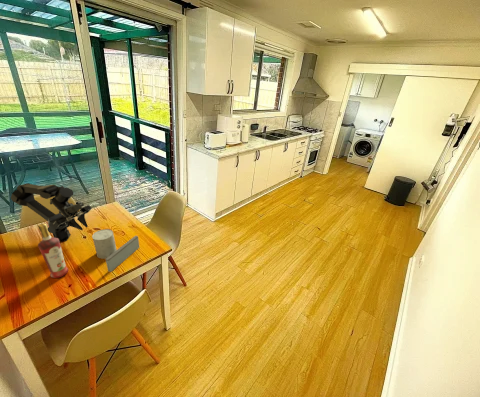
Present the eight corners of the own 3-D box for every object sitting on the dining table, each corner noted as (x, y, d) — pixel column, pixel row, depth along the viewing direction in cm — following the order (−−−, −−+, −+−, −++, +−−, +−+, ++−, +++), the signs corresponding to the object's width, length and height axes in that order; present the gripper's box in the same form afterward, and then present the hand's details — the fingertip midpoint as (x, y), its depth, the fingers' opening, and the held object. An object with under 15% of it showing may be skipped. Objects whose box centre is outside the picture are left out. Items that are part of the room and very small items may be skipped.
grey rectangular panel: (108, 271, 111) (105, 259, 108) (137, 246, 129) (135, 235, 126) (110, 272, 111) (108, 260, 108) (139, 247, 129) (137, 236, 126)
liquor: (64, 266, 112) (48, 218, 99) (72, 272, 109) (56, 224, 96) (47, 275, 106) (27, 226, 93) (55, 282, 103) (35, 232, 90)
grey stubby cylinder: (96, 260, 117) (91, 241, 112) (97, 249, 124) (92, 231, 119) (117, 256, 121) (113, 237, 116) (116, 245, 129) (113, 227, 123)
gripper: (50, 206, 106) (74, 231, 108) (85, 191, 122) (105, 213, 124) (43, 217, 111) (65, 240, 113) (77, 201, 127) (97, 222, 130)
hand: (84, 228), depth 120 cm, fingers open, 3 cm apart
